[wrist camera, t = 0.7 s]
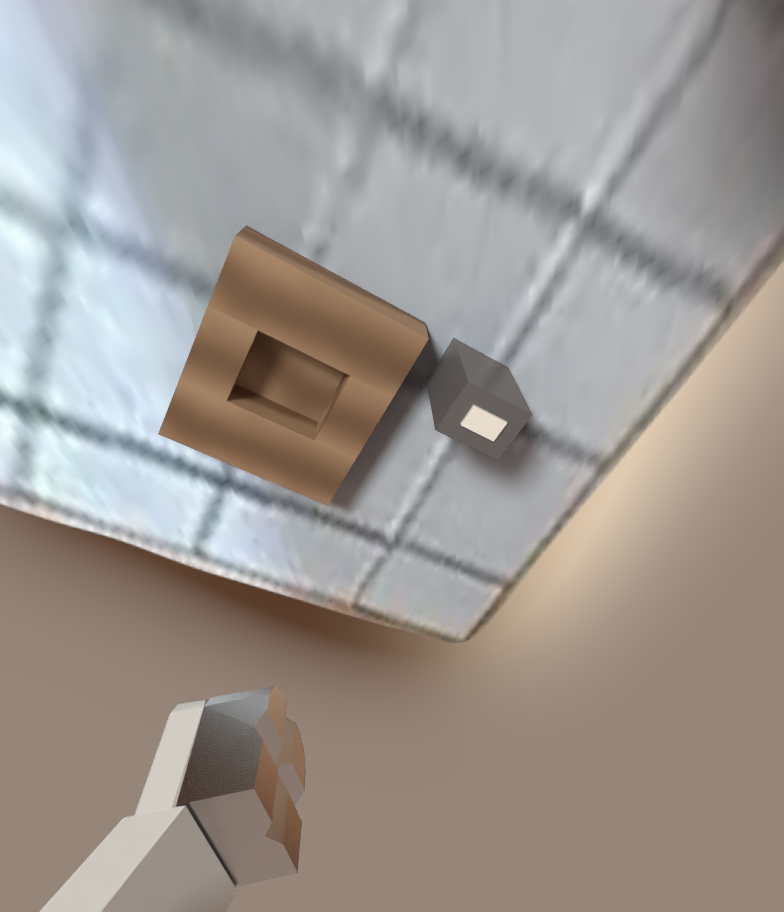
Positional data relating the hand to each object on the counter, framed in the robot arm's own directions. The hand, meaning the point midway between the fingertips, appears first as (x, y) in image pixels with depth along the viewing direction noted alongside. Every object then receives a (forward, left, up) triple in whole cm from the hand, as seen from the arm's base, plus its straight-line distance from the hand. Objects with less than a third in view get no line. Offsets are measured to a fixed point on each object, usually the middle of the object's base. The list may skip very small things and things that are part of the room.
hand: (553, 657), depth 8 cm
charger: (+7, +9, -35) cm, 37 cm away
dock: (+13, -3, -35) cm, 38 cm away
